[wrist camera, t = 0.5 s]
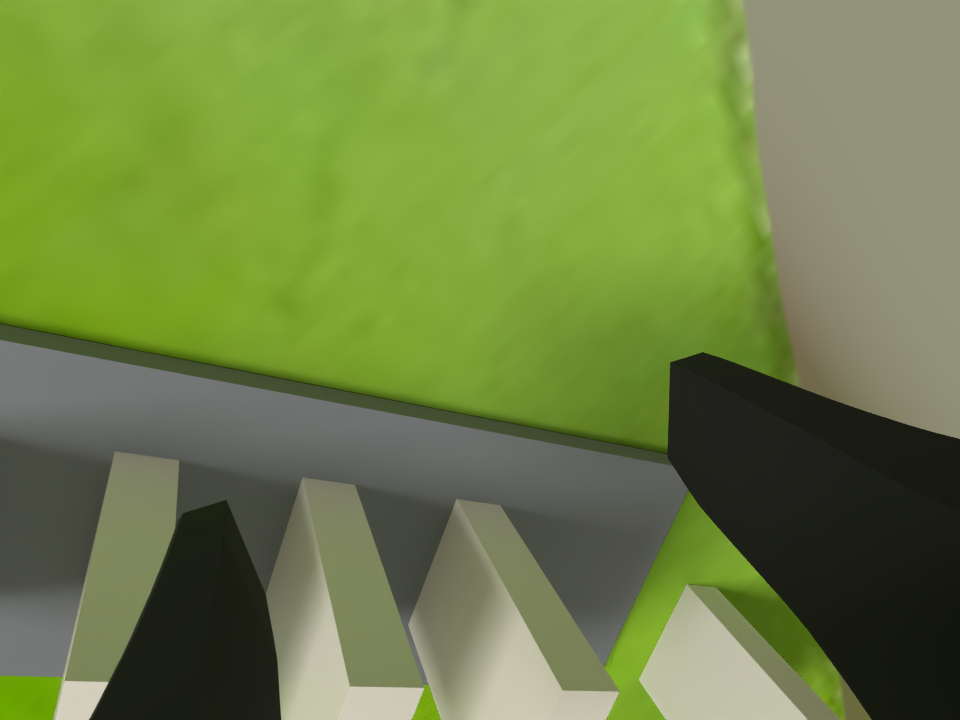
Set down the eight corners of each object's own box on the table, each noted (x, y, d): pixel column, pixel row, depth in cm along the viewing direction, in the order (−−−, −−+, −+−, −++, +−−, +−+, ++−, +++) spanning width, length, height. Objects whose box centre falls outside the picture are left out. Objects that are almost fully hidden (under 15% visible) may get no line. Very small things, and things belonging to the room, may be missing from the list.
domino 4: (667, 680, 32) (795, 856, 25) (638, 680, 32) (761, 860, 25) (715, 587, 31) (864, 744, 24) (686, 584, 30) (830, 745, 23)
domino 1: (140, 610, 21) (108, 885, 14) (78, 606, 21) (14, 892, 14) (179, 460, 20) (166, 682, 13) (114, 451, 19) (64, 681, 12)
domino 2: (309, 619, 23) (353, 863, 16) (258, 616, 23) (282, 869, 16) (355, 484, 22) (424, 688, 15) (302, 477, 21) (349, 686, 14)
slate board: (582, 669, 30) (593, 688, 29) (-243, 641, 19) (-264, 670, 18) (681, 456, 27) (697, 470, 26) (-210, 283, 16) (-232, 296, 16)
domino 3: (450, 627, 25) (542, 847, 19) (408, 625, 25) (487, 852, 18) (500, 505, 24) (619, 691, 17) (456, 499, 23) (562, 690, 17)
